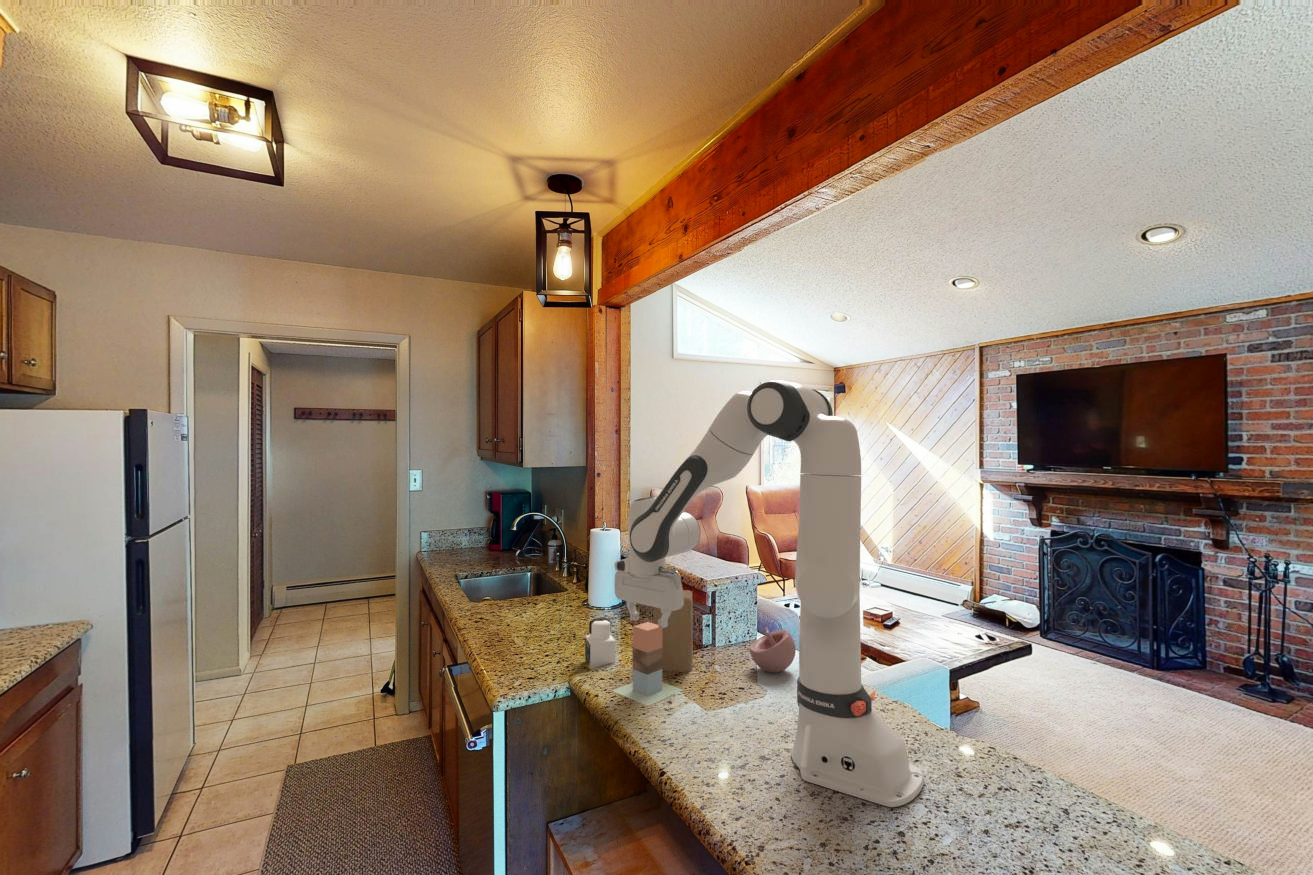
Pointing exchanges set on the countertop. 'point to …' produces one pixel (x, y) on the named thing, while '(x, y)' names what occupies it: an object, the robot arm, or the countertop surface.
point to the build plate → (629, 693)
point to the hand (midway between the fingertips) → (648, 623)
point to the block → (677, 636)
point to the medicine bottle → (599, 644)
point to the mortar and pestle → (773, 650)
